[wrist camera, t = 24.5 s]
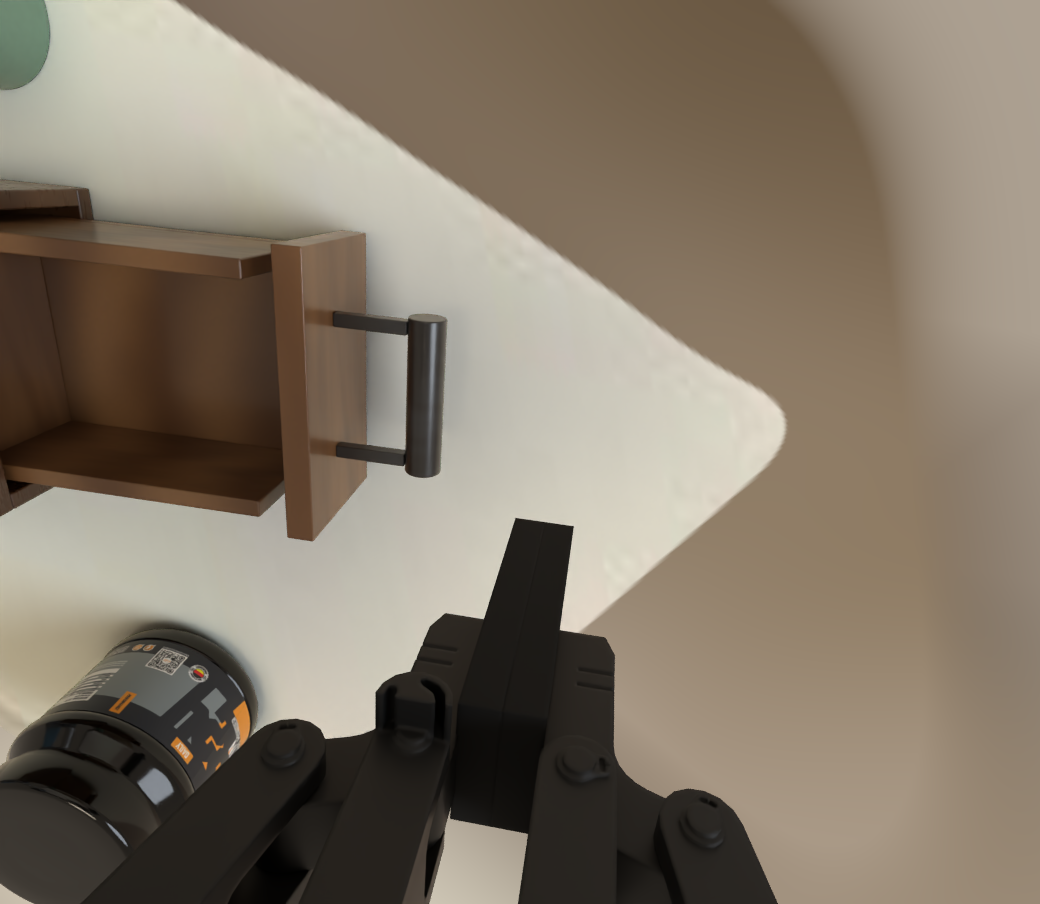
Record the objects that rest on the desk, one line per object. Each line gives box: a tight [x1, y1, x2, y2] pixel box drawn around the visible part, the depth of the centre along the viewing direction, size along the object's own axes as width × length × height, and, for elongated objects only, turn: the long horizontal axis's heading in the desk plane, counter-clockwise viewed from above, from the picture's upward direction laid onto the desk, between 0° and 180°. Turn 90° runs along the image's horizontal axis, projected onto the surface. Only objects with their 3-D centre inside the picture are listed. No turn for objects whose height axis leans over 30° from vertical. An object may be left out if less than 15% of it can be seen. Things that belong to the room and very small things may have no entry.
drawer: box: [0, 214, 447, 541], centre depth 30 cm, size 21×12×7 cm, turn 85°
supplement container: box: [0, 629, 258, 904], centre depth 38 cm, size 10×10×12 cm
